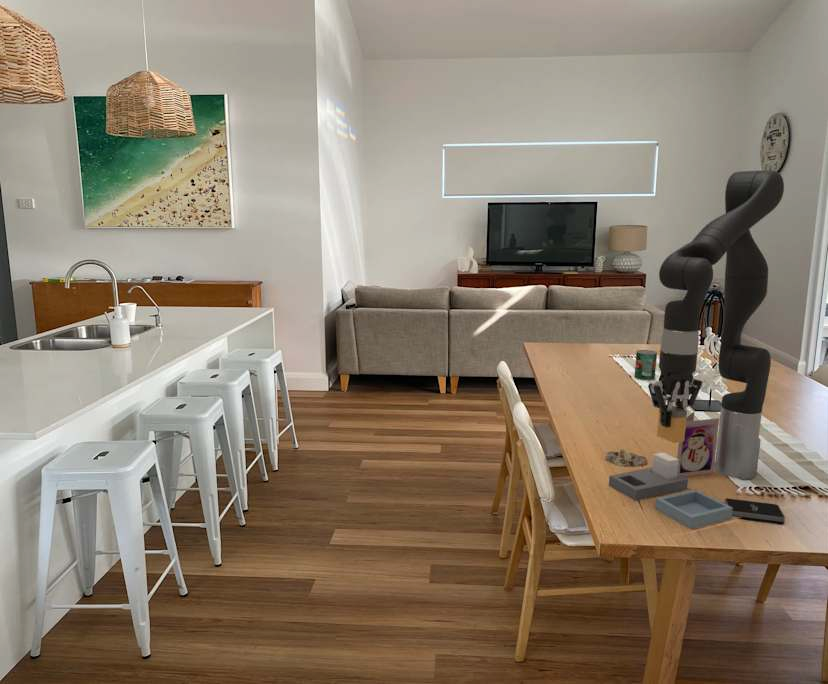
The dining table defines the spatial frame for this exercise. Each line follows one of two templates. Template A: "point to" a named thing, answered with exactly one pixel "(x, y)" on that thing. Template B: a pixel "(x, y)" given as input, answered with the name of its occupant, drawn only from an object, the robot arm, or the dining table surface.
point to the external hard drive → (756, 511)
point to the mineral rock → (625, 459)
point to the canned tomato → (645, 364)
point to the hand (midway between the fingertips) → (671, 425)
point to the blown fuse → (674, 426)
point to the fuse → (665, 466)
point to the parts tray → (693, 509)
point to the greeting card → (698, 447)
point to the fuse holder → (646, 484)
